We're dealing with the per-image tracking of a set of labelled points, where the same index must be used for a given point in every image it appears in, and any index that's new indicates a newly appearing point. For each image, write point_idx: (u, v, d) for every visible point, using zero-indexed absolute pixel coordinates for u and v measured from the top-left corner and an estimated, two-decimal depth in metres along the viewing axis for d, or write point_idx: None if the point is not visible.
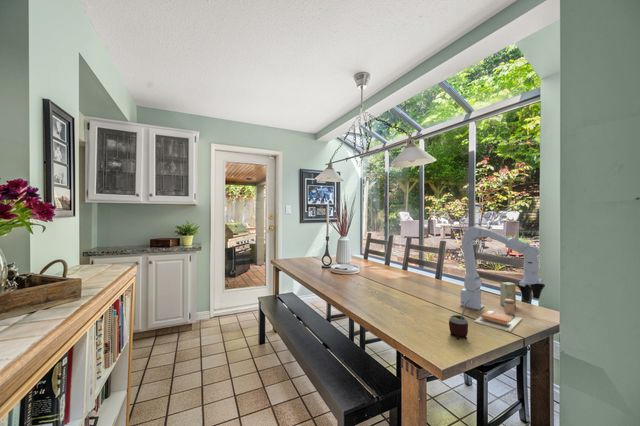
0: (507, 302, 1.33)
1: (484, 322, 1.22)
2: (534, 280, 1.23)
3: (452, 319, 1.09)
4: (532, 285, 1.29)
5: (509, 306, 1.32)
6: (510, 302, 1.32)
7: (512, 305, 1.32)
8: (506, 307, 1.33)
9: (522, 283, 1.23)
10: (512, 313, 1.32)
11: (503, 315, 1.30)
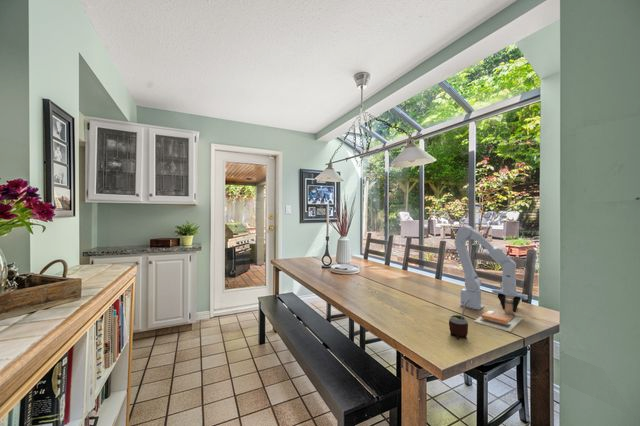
0: (507, 302, 1.33)
1: (484, 322, 1.22)
2: (503, 291, 1.34)
3: (452, 319, 1.09)
4: None
5: (509, 306, 1.32)
6: (510, 302, 1.32)
7: (512, 305, 1.32)
8: (506, 307, 1.33)
9: None
10: (512, 313, 1.32)
11: (503, 315, 1.30)
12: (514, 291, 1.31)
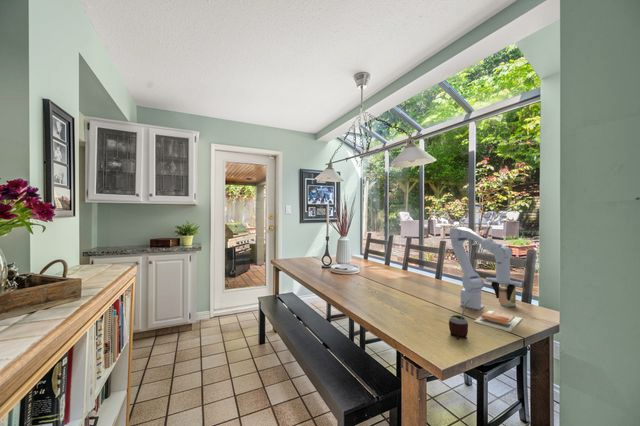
0: (501, 290, 1.29)
1: (484, 322, 1.22)
2: (497, 279, 1.30)
3: (452, 319, 1.09)
4: None
5: (503, 294, 1.28)
6: (504, 290, 1.28)
7: (506, 293, 1.28)
8: (500, 295, 1.29)
9: None
10: (506, 301, 1.28)
11: (503, 315, 1.30)
12: (508, 279, 1.27)
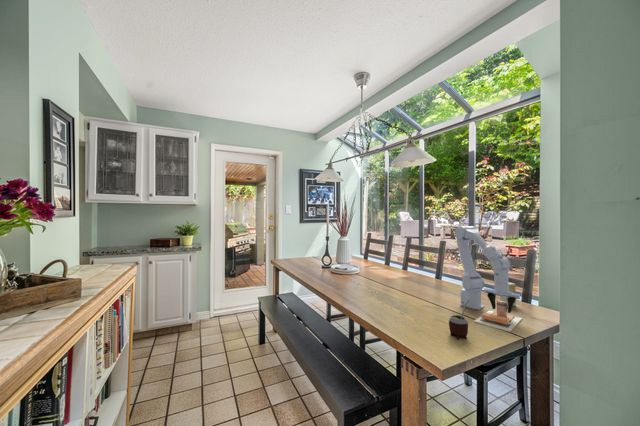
0: (499, 304, 1.28)
1: (484, 322, 1.22)
2: (495, 290, 1.29)
3: (452, 319, 1.09)
4: None
5: (501, 308, 1.27)
6: (502, 304, 1.27)
7: (504, 307, 1.27)
8: (498, 309, 1.28)
9: None
10: (504, 315, 1.27)
11: None
12: (506, 290, 1.26)
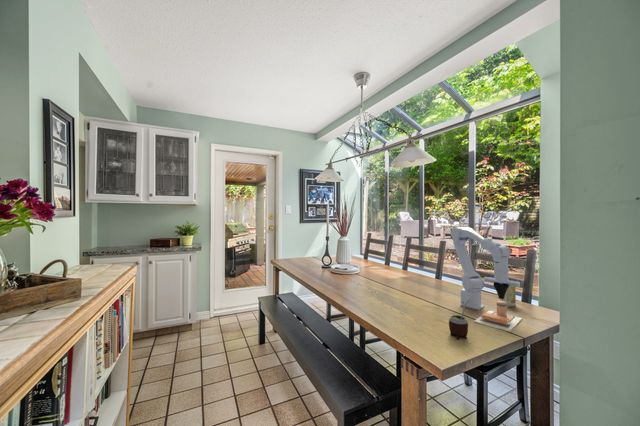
0: (499, 304, 1.28)
1: (484, 322, 1.22)
2: (495, 278, 1.29)
3: (452, 319, 1.09)
4: None
5: (501, 308, 1.27)
6: (502, 304, 1.27)
7: (504, 307, 1.27)
8: (498, 309, 1.28)
9: None
10: (504, 316, 1.27)
11: None
12: (506, 278, 1.26)
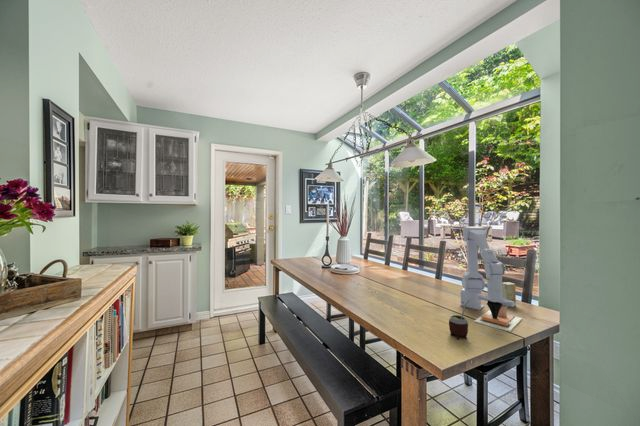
0: None
1: (484, 322, 1.22)
2: (489, 297, 1.22)
3: (452, 319, 1.09)
4: None
5: (501, 308, 1.27)
6: None
7: (504, 307, 1.27)
8: None
9: None
10: (504, 316, 1.27)
11: None
12: (500, 297, 1.19)
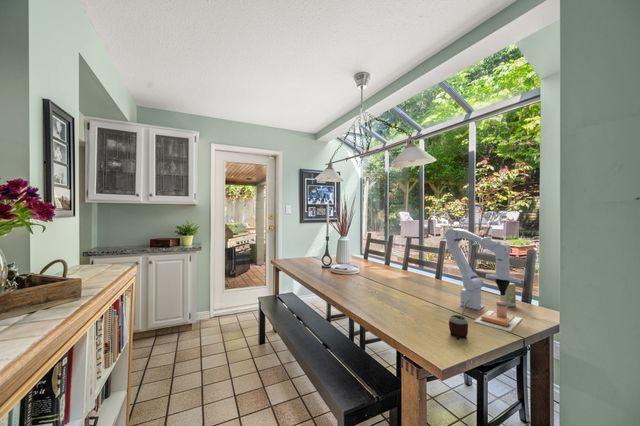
0: (499, 304, 1.28)
1: (484, 322, 1.22)
2: (497, 275, 1.32)
3: (452, 319, 1.09)
4: None
5: (501, 308, 1.27)
6: (502, 304, 1.27)
7: (504, 307, 1.27)
8: (498, 309, 1.28)
9: None
10: (504, 316, 1.27)
11: None
12: (507, 275, 1.30)
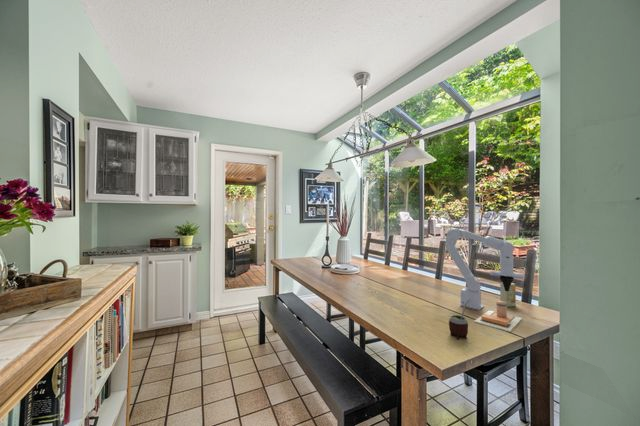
0: (499, 304, 1.28)
1: (484, 322, 1.22)
2: (501, 272, 1.38)
3: (452, 319, 1.09)
4: None
5: (501, 308, 1.27)
6: (502, 304, 1.27)
7: (504, 307, 1.27)
8: (498, 309, 1.28)
9: None
10: (504, 316, 1.27)
11: None
12: (511, 272, 1.35)
